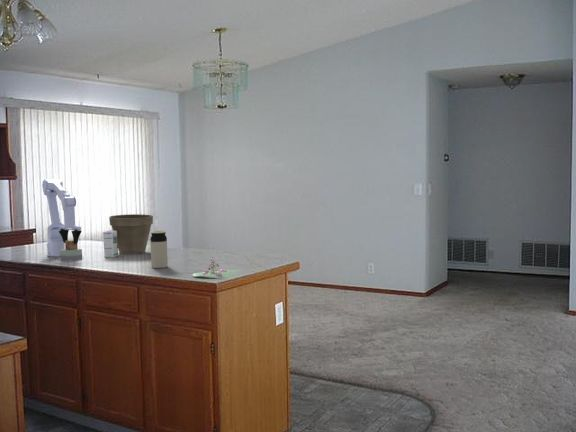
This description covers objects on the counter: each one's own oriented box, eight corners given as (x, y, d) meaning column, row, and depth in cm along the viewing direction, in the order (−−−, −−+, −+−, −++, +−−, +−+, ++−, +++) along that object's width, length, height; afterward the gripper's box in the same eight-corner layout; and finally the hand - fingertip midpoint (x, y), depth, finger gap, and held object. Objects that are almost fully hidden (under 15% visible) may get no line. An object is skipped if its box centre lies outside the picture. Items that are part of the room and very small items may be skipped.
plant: (217, 269, 309) (216, 251, 308) (251, 272, 298) (251, 253, 297) (182, 277, 288) (182, 258, 287) (218, 281, 277) (217, 261, 276)
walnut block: (65, 249, 347) (65, 240, 346) (71, 248, 351) (71, 239, 350) (71, 250, 345) (70, 241, 344) (77, 249, 349) (77, 240, 348)
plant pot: (161, 252, 366) (159, 215, 364) (119, 257, 352) (118, 218, 350) (144, 248, 387) (143, 213, 385) (104, 252, 373) (103, 215, 371)
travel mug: (168, 267, 313) (167, 231, 311) (152, 269, 310) (150, 232, 309) (166, 265, 320) (165, 230, 319) (150, 266, 318) (149, 231, 316)
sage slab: (60, 255, 347) (60, 249, 346) (72, 253, 353) (72, 248, 353) (69, 256, 342) (69, 250, 342) (82, 254, 349) (81, 249, 349)
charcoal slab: (60, 260, 346) (60, 255, 346) (71, 258, 353) (71, 253, 353) (71, 261, 342) (71, 256, 342) (82, 259, 350) (82, 254, 349)
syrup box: (113, 257, 353) (112, 231, 351) (103, 257, 354) (102, 231, 353) (118, 255, 358) (117, 230, 357) (108, 255, 359) (107, 230, 358)
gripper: (84, 218, 346) (85, 242, 347) (65, 217, 353) (66, 241, 354) (75, 219, 340) (76, 244, 341) (55, 218, 346) (56, 243, 348)
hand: (70, 243), depth 347 cm, fingers open, 7 cm apart
